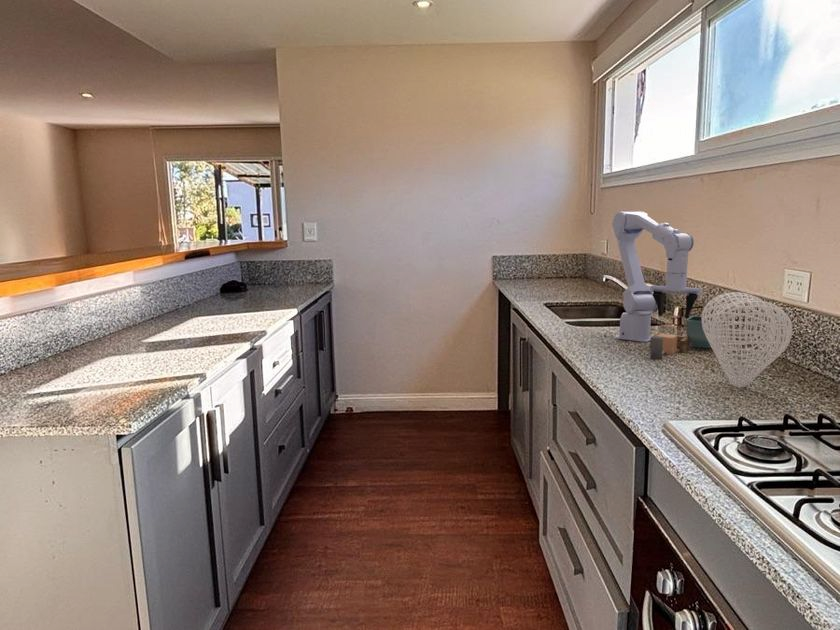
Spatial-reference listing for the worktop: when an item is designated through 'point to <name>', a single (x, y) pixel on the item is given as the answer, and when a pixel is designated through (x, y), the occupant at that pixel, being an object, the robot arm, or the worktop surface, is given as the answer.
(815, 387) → the worktop surface
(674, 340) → the tethered block
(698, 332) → the flower pot
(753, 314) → the heart
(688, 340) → the lane
